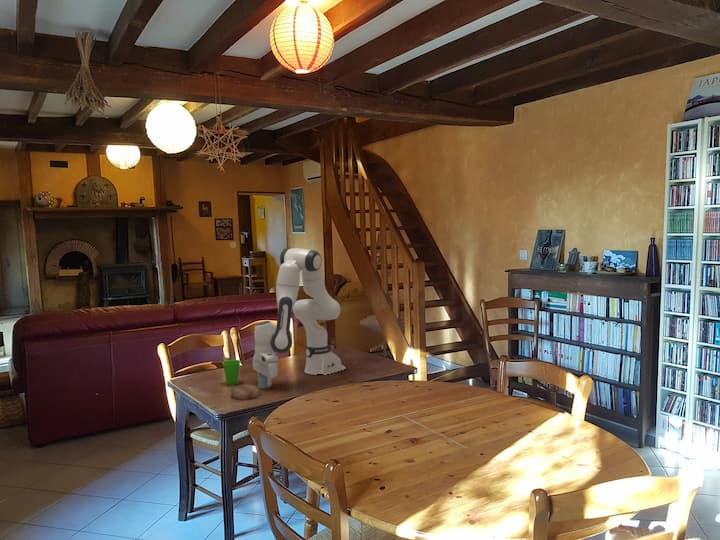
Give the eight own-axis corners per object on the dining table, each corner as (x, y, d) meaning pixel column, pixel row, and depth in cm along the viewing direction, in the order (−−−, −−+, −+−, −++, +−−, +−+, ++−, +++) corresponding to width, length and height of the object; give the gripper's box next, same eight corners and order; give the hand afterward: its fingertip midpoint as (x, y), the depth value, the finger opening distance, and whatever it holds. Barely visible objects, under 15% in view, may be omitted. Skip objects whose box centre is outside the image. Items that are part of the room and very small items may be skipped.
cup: (238, 386, 248) (238, 364, 248) (220, 386, 249) (219, 364, 248) (243, 380, 257) (242, 359, 257) (225, 381, 258) (224, 359, 257)
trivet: (252, 389, 244) (252, 382, 244) (264, 395, 234) (264, 389, 233) (226, 394, 236) (226, 388, 236) (238, 401, 226) (237, 395, 226)
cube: (267, 384, 252) (266, 374, 251) (271, 386, 248) (271, 376, 247) (257, 386, 249) (257, 376, 248) (262, 388, 245) (262, 378, 244)
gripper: (249, 351, 253) (249, 378, 254) (267, 359, 237) (268, 388, 238) (260, 349, 257) (261, 376, 258) (279, 357, 241) (280, 386, 242)
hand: (264, 382), depth 248 cm, fingers open, 7 cm apart
